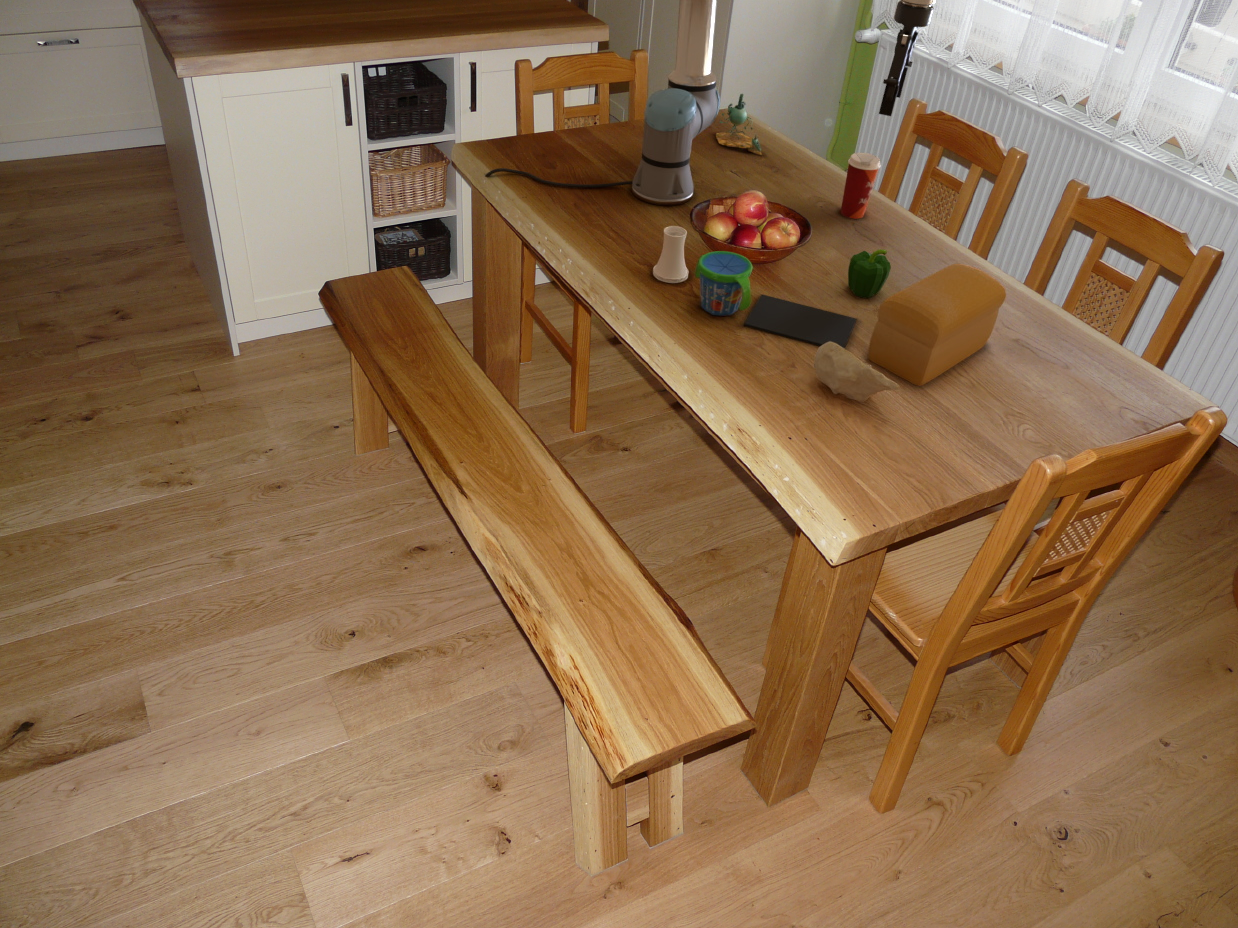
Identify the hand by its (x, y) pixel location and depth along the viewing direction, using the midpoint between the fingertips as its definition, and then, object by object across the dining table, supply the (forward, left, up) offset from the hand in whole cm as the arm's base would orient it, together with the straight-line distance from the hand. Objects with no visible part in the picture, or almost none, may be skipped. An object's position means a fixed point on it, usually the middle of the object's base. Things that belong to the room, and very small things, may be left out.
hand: (889, 105), depth 208 cm
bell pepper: (+7, -36, -27) cm, 46 cm away
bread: (+23, -53, -27) cm, 64 cm away
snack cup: (-18, -58, -27) cm, 66 cm away
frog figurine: (-41, +29, -27) cm, 57 cm away
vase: (-32, -49, -27) cm, 65 cm away
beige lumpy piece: (+13, -74, -27) cm, 80 cm away
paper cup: (-3, +2, -27) cm, 28 cm away
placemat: (-2, -55, -27) cm, 62 cm away
